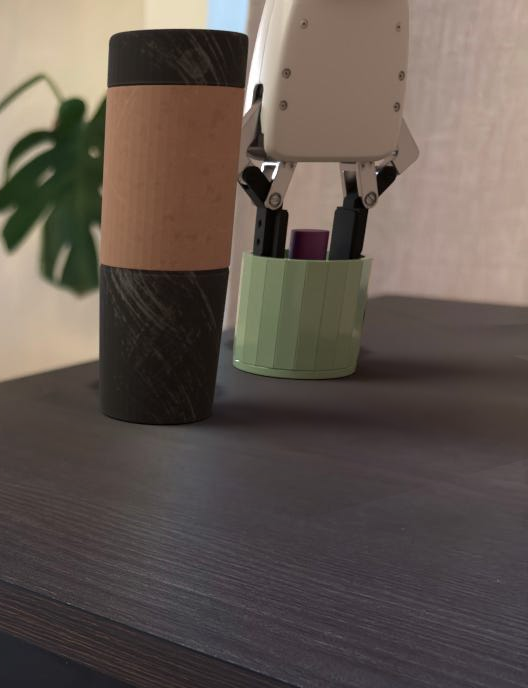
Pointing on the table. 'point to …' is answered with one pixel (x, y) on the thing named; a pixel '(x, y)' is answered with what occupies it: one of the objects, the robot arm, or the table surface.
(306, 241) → the glue stick
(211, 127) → the travel mug
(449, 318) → the table surface
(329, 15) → the robot arm
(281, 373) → the cup
